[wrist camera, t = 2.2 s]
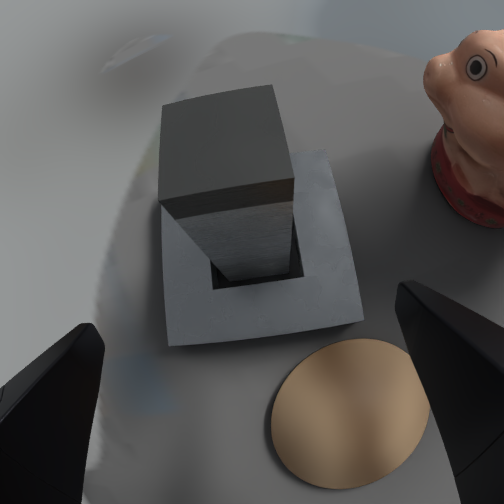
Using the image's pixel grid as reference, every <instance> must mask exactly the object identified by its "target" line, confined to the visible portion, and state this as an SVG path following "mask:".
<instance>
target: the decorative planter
mask: <svg viewBox="0 0 504 504" xmlns="http://www.w3.org/2000/svg"><path fill="white" fill-rule="evenodd" d="M423 84H424V89H425V91H426V93H427V95H428V97H429V99H430V100H431V101H432V103H433V104H434V105H435V107H436V108H437V109H438V111H439V112H440V114H441V115H442V117H443V119H444V124H443V126H442V127H441V129H440V130H439V132H438V133H437V135H436V137H435V139H434V142H433V145H432V150H431V163H432V169H433V173H434V177H435V180H436V182H437V184H438V186H439V188H440V190H441V192H442V194H443V195H444V196H445V198H446V199H447V201H448V202H449V204H450V205H451V206H452V207H453V208H454V209H455V210H456V211H457V212H458V213H459V214H460V215H462V216H463V217H465V218H466V219H468V220H470V221H472V222H474V223H476V224H479V225H482V226H486V227H491V228H503V227H504V29H503V30H498V31H488V30H479V31H475V32H473V33H471V34H470V35H468V36H467V37H466V38H465V39H463V40H462V41H461V43H460V44H459V46H458V47H457V48H456V49H454V50H453V51H451V52H450V53H446V54H442V55H438V56H436V57H434V58H432V59H431V60H430V61H429V62H428V64H427V66H426V69H425V71H424V76H423Z"/></svg>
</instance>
